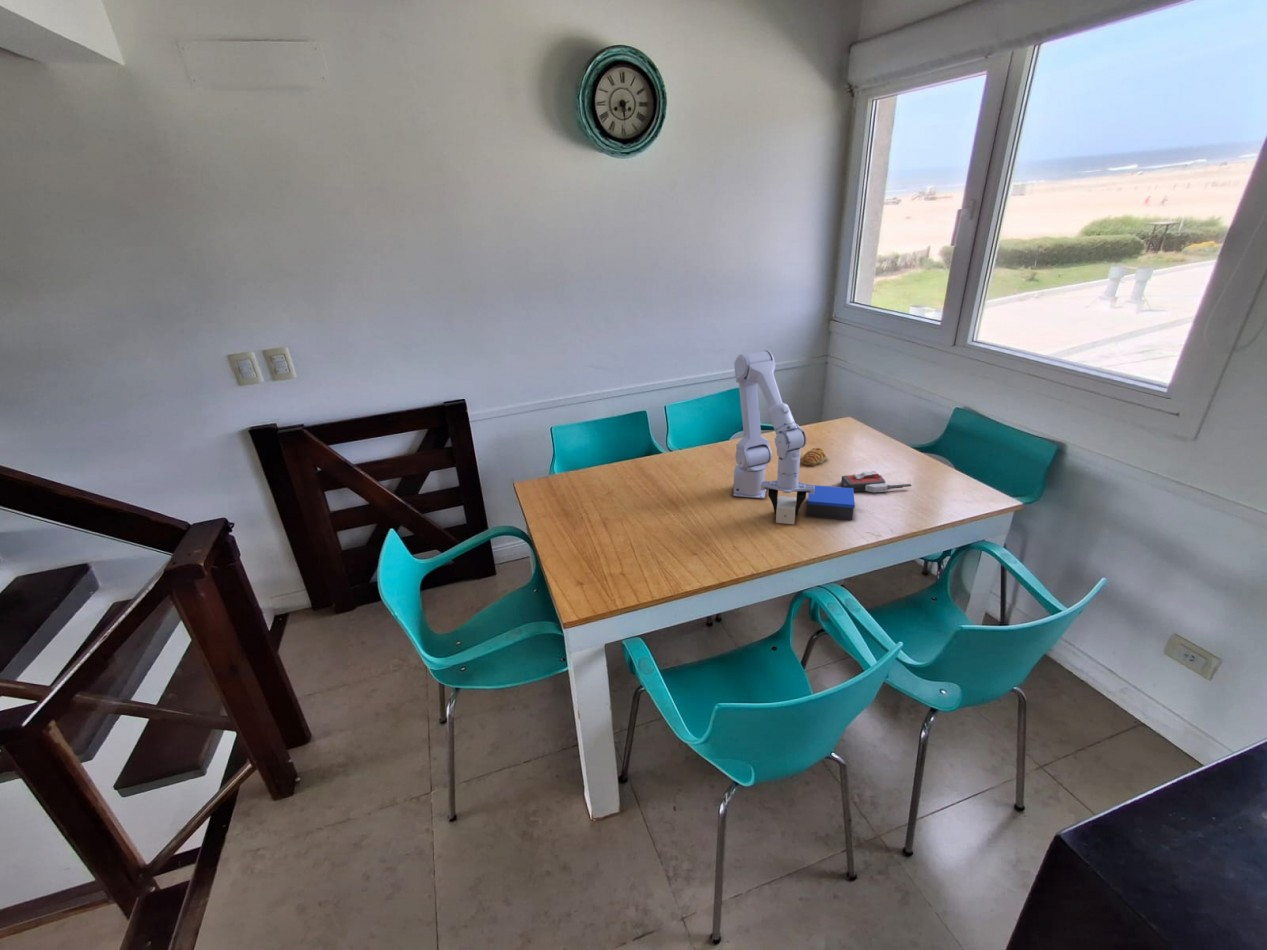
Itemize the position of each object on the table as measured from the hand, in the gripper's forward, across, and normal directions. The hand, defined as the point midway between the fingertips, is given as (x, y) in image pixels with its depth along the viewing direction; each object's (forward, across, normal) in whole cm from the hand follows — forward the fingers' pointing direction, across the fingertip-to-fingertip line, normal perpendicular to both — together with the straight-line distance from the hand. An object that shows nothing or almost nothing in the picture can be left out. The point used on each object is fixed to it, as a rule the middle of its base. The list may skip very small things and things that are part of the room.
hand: (785, 513), depth 159 cm
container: (+1, +12, +7) cm, 14 cm away
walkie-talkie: (+2, +25, +24) cm, 35 cm away
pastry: (+2, +7, +41) cm, 42 cm away
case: (+1, 0, 0) cm, 1 cm away
